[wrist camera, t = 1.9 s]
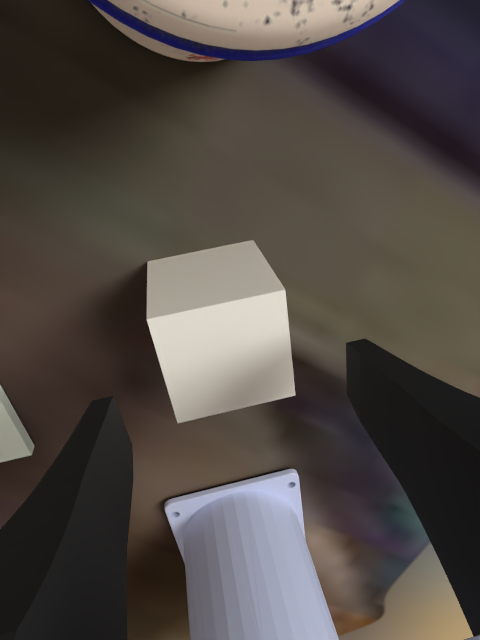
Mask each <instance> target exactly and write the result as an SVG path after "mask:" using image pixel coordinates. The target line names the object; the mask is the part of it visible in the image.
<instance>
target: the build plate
mask: <svg viewBox="0 0 480 640" xmlns="http://www.w3.org/2000/svg"><path fill="white" fill-rule="evenodd" d="M33 449H34V444H33V442H32V440H31V439H30V437H29V435H28V433H27V431H26V430H25V428H24V426H23V424H22V422H21V421H20V419H19V417H18V415H17V414H16V412H15V410H14V408H13V406H12V405H11V403H10V401H9V399H8V398H7V396H6V394H5V392H4V390H3V389H2V387H1V385H0V462H5V461H9V460H13V459H17V458H22V457H26V456H30V455H32V453H33Z"/></svg>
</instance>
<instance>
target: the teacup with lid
mask: <svg viewBox="0 0 480 640" xmlns="http://www.w3.org/2000/svg"><path fill="white" fill-rule="evenodd" d="M88 1H89V2H90V3H91V4H92V5H93V6H94V7H95V8H96V9H97V10H98V11H99V12H100V14H101V15H103V16H104V17H105V18H106V19H107V20H108V21H109V22H110V23H111V24H112V25H113V26H114V27H116V28H117V29H118V30H119V31H121V32H122V33H123V34H125V35H126V36H127V37H129V38H130V39H132V40H134V41H135V42H137V43H138V44H140V45H142V46H144V47H146V48H148V49H150V50H152V51H154V52H157V53H159V54H162V55H164V56H168V57H171V58H175V59H179V60H185V61H194V62H210V61H219V60H225V59H226V60H242V61H260V60H275V59H282V58H287V57H293V56H298V55H303V54H307V53H310V52H313V51H316V50H320V49H323V48H326V47H329V46H331V45H333V44H336V43H338V42H340V41H343V40H345V39H347V38H349V37H352V36H353V35H355V34H357V33H359V32H360V31H362V30H364V29H366V28H367V27H369V26H371V25H373V24H374V23H376V22H377V21H379V20H380V19H382V18H383V17H384V16H386V15H387V14H389V13H390V12H392V11H393V10H394V9H396V8H397V7H399V6H400V5H401V4H402V3H403V2H404V1H406V0H88Z"/></svg>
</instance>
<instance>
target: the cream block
mask: <svg viewBox="0 0 480 640" xmlns="http://www.w3.org/2000/svg"><path fill="white" fill-rule="evenodd" d="M147 323H148V326H149V329H150V333H151V336H152V339H153V343H154V346H155V349H156V353H157V356H158V359H159V363H160V366H161V369H162V373H163V376H164V379H165V383H166V386H167V389H168V393H169V396H170V400H171V403H172V406H173V410H174V413H175V416H176V420H177V423H181V422H185V421H190V420H194V419H198V418H202V417H206V416H211V415H215V414H219V413H223V412H228V411H232V410H236V409H240V408H244V407H249V406H253V405H257V404H261V403H265V402H270V401H274V400H278V399H282V398H286V397H291V396H295V386H294V376H293V365H292V355H291V345H290V334H289V324H288V314H287V303H286V293H285V289H284V287H283V286H282V284H281V282H280V281H279V279H278V278H277V276H276V275H275V273H274V272H273V270H272V269H271V267H270V265H269V264H268V262H267V261H266V259H265V258H264V256H263V255H262V253H261V251H260V250H259V248H258V247H257V245H256V244H255V242H254V241H253V240H251V241H246V242H241V243H236V244H231V245H227V246H222V247H217V248H212V249H207V250H202V251H197V252H192V253H187V254H182V255H177V256H172V257H167V258H162V259H157V260H152V261H148V262H147Z"/></svg>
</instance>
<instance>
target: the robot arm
mask: <svg viewBox="0 0 480 640" xmlns="http://www.w3.org/2000/svg"><path fill="white" fill-rule="evenodd" d="M346 368H347V395H348V397H349V399H350V401H351V404H352V406H353V408H354V410H355V412H356V414H357V416H358V418H359V420H360V422H361V423H362V425H363V427H364V428H365V430H366V431H367V433H368V434H369V436H370V438H371V439H372V441H373V442H374V444H375V445H376V447H377V448H378V450H379V451H380V453H381V454H382V456H383V458H384V459H385V461H386V462H387V464H388V465H389V467H390V468H391V470H392V471H393V473H394V474H395V476H396V477H397V479H398V481H399V482H400V484H401V486H402V487H403V489H404V491H405V492H406V494H407V496H408V498H409V500H410V502H411V504H412V506H413V508H414V510H415V512H416V513H417V515H418V517H419V519H420V521H421V523H422V525H423V527H424V529H425V531H426V533H427V535H428V537H429V539H430V541H431V544H432V545H433V547H434V550H435V552H436V554H437V556H438V558H439V560H440V562H441V564H442V567H443V569H444V571H445V573H446V575H447V577H448V579H449V582H450V584H451V585H452V588H453V590H454V592H455V595H456V597H457V599H458V601H459V604H460V606H461V608H462V610H463V613H464V615H465V617H466V619H467V622H468V624H469V626H470V629H471V631H472V634H473V636H474V637H471V638H468V639H465V640H480V398H479V397H477V396H474V395H472V394H469V393H467V392H464V391H462V390H460V389H458V388H455V387H453V386H451V385H449V384H447V383H445V382H443V381H441V380H439V379H437V378H435V377H433V376H431V375H429V374H427V373H425V372H423V371H421V370H419V369H417V368H416V367H414V366H412V365H410V364H408V363H407V362H405V361H403V360H401V359H400V358H398V357H396V356H394V355H393V354H391V353H389V352H388V351H386V350H384V349H382V348H381V347H379V346H377V345H376V344H374V343H372V342H370V341H368V340H367V339H361V340H357V341H352V342H348V343H346ZM132 487H133V454H132V443H131V441H130V438H129V436H128V433H127V430H126V428H125V425H124V423H123V420H122V418H121V415H120V413H119V410H118V407H117V405H116V402H115V400H114V397H113V396H111V397H107V398H103V399H98V400H94V401H92V402H91V404H90V405H89V407H88V408H87V410H86V412H85V413H84V415H83V417H82V418H81V420H80V422H79V423H78V425H77V426H76V428H75V430H74V431H73V433H72V435H71V436H70V438H69V439H68V441H67V443H66V444H65V446H64V447H63V449H62V450H61V452H60V453H59V455H58V457H57V458H56V460H55V461H54V463H53V464H52V465H51V467H50V468H49V470H48V471H47V472H46V474H45V475H44V477H43V478H42V479H41V481H40V482H39V484H38V485H37V486H36V488H35V489H34V490H33V492H32V493H31V494H30V496H29V497H28V498H27V499H26V501H25V502H24V503H23V504H22V505H21V507H20V508H19V509H18V510H17V511H16V512H15V514H14V515H13V516H12V517H11V518H10V519H9V521H8V522H7V523H6V524H5V525H4V526H3V527H2V528H1V529H0V640H127V609H126V557H127V543H128V532H129V521H130V510H131V499H132ZM165 513H166V515H167V518H168V521H169V523H170V526H171V529H172V531H173V534H174V537H175V539H176V542H177V545H178V547H179V550H180V553H181V555H182V558H183V561H184V563H185V571H186V585H187V599H188V613H189V627H190V640H339V639H338V636H337V633H336V630H335V627H334V624H333V621H332V618H331V615H330V612H329V609H328V606H327V603H326V600H325V597H324V594H323V591H322V589H321V586H320V583H319V580H318V577H317V574H316V571H315V568H314V565H313V562H312V559H311V556H310V553H309V550H308V547H307V544H306V541H305V531H304V522H303V513H302V503H301V494H300V484H299V476H298V474H297V471H296V470H294V469H287V470H283V471H279V472H275V473H271V474H267V475H263V476H259V477H255V478H251V479H248V480H244V481H240V482H236V483H232V484H228V485H224V486H220V487H216V488H212V489H208V490H204V491H200V492H196V493H192V494H188V495H184V496H180V497H176V498H172V499H169V500H168V501H166V502H165Z"/></svg>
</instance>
